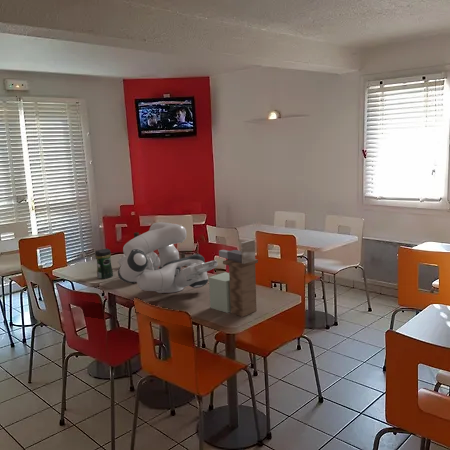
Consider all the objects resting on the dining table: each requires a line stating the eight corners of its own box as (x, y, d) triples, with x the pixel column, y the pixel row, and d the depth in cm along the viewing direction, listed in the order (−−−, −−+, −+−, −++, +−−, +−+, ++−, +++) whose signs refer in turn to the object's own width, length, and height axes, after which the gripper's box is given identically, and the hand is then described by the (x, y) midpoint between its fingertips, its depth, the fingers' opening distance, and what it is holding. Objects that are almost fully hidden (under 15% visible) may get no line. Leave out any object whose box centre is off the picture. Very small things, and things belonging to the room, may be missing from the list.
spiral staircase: (162, 281, 299) (129, 289, 281) (146, 266, 309) (114, 272, 291) (169, 258, 291) (136, 264, 273) (153, 243, 301) (120, 248, 283)
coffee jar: (108, 274, 305) (106, 247, 302) (114, 276, 300) (112, 248, 296) (95, 277, 299) (92, 249, 296) (101, 280, 293) (98, 251, 290)
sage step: (210, 307, 235) (208, 277, 232) (226, 301, 243) (225, 272, 241) (227, 312, 227) (225, 281, 224) (243, 306, 235) (242, 275, 232)
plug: (217, 256, 232) (217, 249, 232) (225, 255, 235) (225, 247, 235) (240, 263, 218) (240, 254, 218) (248, 261, 221) (248, 252, 221)
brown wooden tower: (225, 312, 228) (222, 240, 221) (241, 305, 236) (238, 236, 230) (243, 317, 219) (240, 243, 213) (259, 310, 228) (257, 239, 222)
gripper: (210, 273, 255) (225, 264, 245) (182, 282, 240) (197, 272, 231) (206, 262, 256) (221, 253, 247) (178, 270, 242) (192, 261, 232)
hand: (209, 263), depth 239 cm, fingers open, 8 cm apart
